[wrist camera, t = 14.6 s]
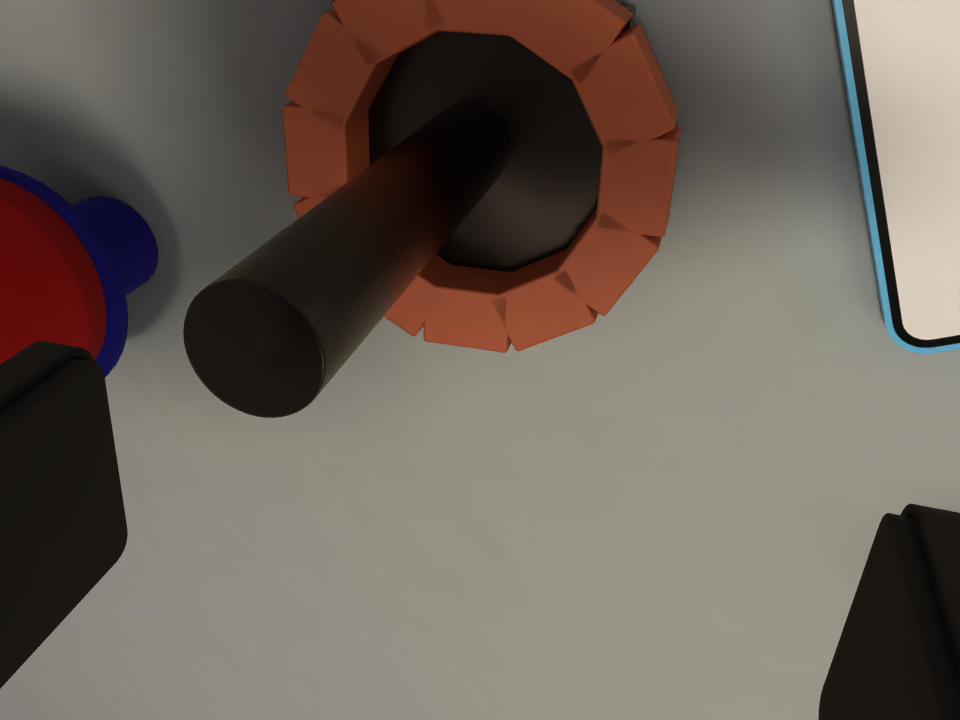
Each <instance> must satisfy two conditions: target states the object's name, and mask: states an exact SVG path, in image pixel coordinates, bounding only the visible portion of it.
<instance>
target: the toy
mask: <svg viewBox="0 0 960 720" xmlns="http://www.w3.org/2000/svg"><path fill="white" fill-rule="evenodd" d="M157 261H158V249H157V245H156V240H155V238H154V236H153V233H152V231H151V229H150V228H149V226H148V224H147V223H146V221H145V220H144V219H143V218H142V217H141V216H140V215H139V214H138V213H137V212H136V211H135V210H134V209H133V208H131V207H130V206H128V205H126V204H125V203H123V202H121V201H119V200H116V199H114V198H109V197H104V196H98V197H90V198H88V199H85V200H82V201H80V202H78V203H76V204H74V205H71V204H70V203H68V202H67V201H66V200H65V199H64V198H63V197H62V196H60V195H59V194H58V193H56V192H55V191H53V190H52V189H50V188H49V187H48V186H46V185H45V184H43V183H42V182H40V181H38V180H36V179H34V178H32V177H30V176H28V175H26V174H24V173H22V172H19V171H16V170H13V169H11V168H8V167H5V166H0V364H1V363H3V362H5V361H6V360H8V359H9V358H11V357H12V356H14V355H15V354H17V353H18V352H20V351H21V350H23V349H25V348H26V347H28V346H29V345H31V344H33V343H35V342H37V341H49V342H54V343H59V344H65V345H70V346H75V347H81V348H84V349H86V350H87V351H89V352H90V354H91V355H92V357H93V359H94V362H96V363H98V364H99V365H100V366H101V367H102V369H103V373H104V377H106V376H107V375H108V374H109V373H110V371H111V370H112V369H113V368H114V367H115V365H116V364H117V362H118V360H119V358H120V356H121V354H122V352H123V349H124V345H125V341H126V338H127V329H128V311H127V301H126V295H127V294H129V293H130V292H132V291H133V290H135V289H136V288H138V287H139V286H141V285H142V284H144V283H145V282H147V281H148V280H149V279H150V277H151V276H152V275H153V273H154V271H155V269H156V266H157Z"/></svg>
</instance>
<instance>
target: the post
mask: <svg viewBox="0 0 960 720" xmlns="http://www.w3.org/2000/svg"><path fill="white" fill-rule="evenodd" d="M334 1H335V0H333V2H334ZM621 5H622V6H623V7H625V8H626V9H628V10H629V11H630V12H632V17H631V18H630V20H629V21H628V23H627V24H626V26H625V27H624V29H623V30H622V32H623V31H625V30H627V29H629V28H631V27H633V23H634V16H635V9H636V8H635V6H634V5H626V4H621ZM333 9H334V7H333ZM368 120H369V157H370V166H368V167H367V168H366V169H364V170H363V171H362V172H360V173H359V174H358V175H356V176H355V177H354V178H352V179H351V180H350V181H348V182H347V183H345V184H344V185H343V186H341V187H340V188H339V189H337V190H336V191H335V192H333V193H332V194H331V195H329V196H328V197H327V198H325V199H324V200H323V201H321V202H320V203H319V204H317V205H316V206H315V207H313V208H312V209H311V210H309V211H308V212H307V213H305V214H304V215H302V216H301V217H300V218H298V219H297V220H296V221H294V222H293V223H292V224H290V225H289V226H288V227H286V228H285V229H284V230H282V231H281V232H280V233H278V234H277V235H276V236H274V237H273V238H272V239H270V240H269V241H268V242H266V243H265V244H264V245H262V246H261V247H259V248H258V249H257V250H255V251H254V252H253V253H251V254H250V255H249V256H247V257H246V258H245V259H243V260H242V261H241V262H239V263H238V264H237V265H235V266H234V267H233V268H231V269H230V270H229V271H227V272H226V273H225V274H223V275H222V276H221V277H219V278H218V279H216V280H215V281H214V282H212V283H211V284H210V285H208V286H207V287H206V288H204V289H203V290H202V291H201V292H199V294H198V295H197V296H196V297H195V298H194V299H193V301H192V302H191V304H190V306H189V308H188V311H187V313H186V317H185V321H184V329H183V333H184V344H185V349H186V352H187V356H188V358H189V361H190V363H191V365H192V367H193V369H194V371H195V372H196V374H197V375H198V377H199V378H200V380H201V381H202V382H203V384H204V385H205V386H206V387H207V388H208V389H209V390H210V391H211V392H212V393H213V394H214V395H215V396H216V397H218V398H219V399H220V400H222V401H223V402H224V403H226V404H228V405H229V406H231V407H233V408H235V409H237V410H239V411H241V412H244V413H247V414H250V415H254V416H258V417H267V418H275V417H283V416H287V415H291V414H294V413H296V412H298V411H300V410H302V409H304V408H305V407H307V406H308V405H309V404H310V403H311V402H312V401H313V400H314V399H315V398H316V396H317V395H318V394H319V393H320V392H321V390H322V389H323V388H324V387H325V386H326V384H327V383H328V382H329V381H330V380H331V378H332V377H333V376H334V375H335V374H336V372H337V371H338V370H339V369H340V368H341V366H342V365H343V364H344V363H345V362H346V360H347V359H348V358H349V357H350V356H351V354H352V353H353V352H354V351H355V350H356V348H357V347H358V346H359V345H360V344H361V342H362V341H363V340H364V339H365V338H366V337H367V335H368V334H369V333H370V332H371V331H372V329H373V328H374V327H375V326H376V325H377V323H378V322H379V321H380V320H381V319H382V317H383V316H384V315H385V314H386V313H387V311H388V310H389V309H390V308H391V307H392V305H393V304H394V303H395V302H396V301H397V299H398V298H399V297H400V296H401V295H402V293H403V292H404V291H405V290H406V289H407V287H408V286H409V285H410V284H411V283H412V281H413V280H414V279H415V278H416V277H417V275H418V274H419V273H420V272H421V271H422V269H423V268H424V267H425V266H426V265H427V264H428V262H429V261H430V260H431V259H432V258H433V256H434V255H435V254H437V255H438V256H440V257H441V258H443V259H444V260H445V261H447V262H448V263H450V264H451V265H458V266H466V267H474V268H482V269H490V270H498V271H507V272H513V271H515V270H517V269H520V268H522V267H525V266H527V265H530V264H532V263H534V262H537V261H539V260H542V259H544V258H546V257H549V256H551V255H554V254H556V253H559V252H561V251H563V250H566V249H567V248H568V247H569V245H570V244H571V243H572V241H573V240H574V239H575V237H576V236H577V235H578V233H579V232H580V231H581V229H582V228H583V226H584V225H585V224H586V222H587V221H588V220H589V218H590V217H591V216H592V214H593V213H594V212H595V210H596V209H597V200H598V190H599V179H600V168H601V158H602V145H601V143H600V141H599V138H598V136H597V134H596V132H595V130H594V128H593V125H592V123H591V121H590V119H589V117H588V114H587V112H586V110H585V108H584V106H583V104H582V101H581V99H580V97H579V95H578V93H577V91H576V88H575V86H574V84H573V82H572V80H571V79H570V78H568V77H567V76H566V75H564V74H563V73H561V72H560V71H558V70H557V69H556V68H554V67H553V66H551V65H550V64H549V63H547V62H546V61H544V60H543V59H542V58H540V57H539V56H537V55H536V54H535V53H533V52H532V51H530V50H529V49H528V48H526V47H525V46H523V45H522V44H521V43H519V42H518V41H516V40H515V39H513V38H512V37H511V36H508V35H493V34H479V33H464V32H450V31H439V32H437V33H435V34H433V35H432V36H430V37H428V38H426V39H424V40H423V41H421V42H419V43H417V44H416V45H414V46H412V47H410V48H408V49H407V50H405V51H403V52H401V53H400V54H398V56H397V58H396V60H395V62H394V64H393V65H392V67H391V69H390V71H389V73H388V75H387V77H386V78H385V80H384V82H383V84H382V86H381V88H380V90H379V92H378V93H377V95H376V97H375V99H374V101H373V103H372V105H371V106H370V108H369V110H368Z"/></svg>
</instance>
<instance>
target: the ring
mask: <svg viewBox="0 0 960 720" xmlns="http://www.w3.org/2000/svg"><path fill="white" fill-rule="evenodd" d="M332 5H333V7H334V9H333V10H329V11H326V12H324V13H323V14H322V16H321V18H320V20H319V22H318V25H317V27H316V29H315V31H314V33H313V35H312V37H311V39H310V41H309V43H308V46H307V48H306V50H305V52H304V54H303V56H302V58H301V60H300V62H299V64H298V67H297V69H296V71H295V73H294V75H293V77H292V79H291V81H290V83H289V85H288V88H287V90H286V92H285V96H286V97H288V98H289V99H291V100H292V102H290V103H288V104H286V105H284V106H283V120H284V135H285V149H286V163H287V177H288V192H289V195H291V196H299V197H303V198H302V199H300V200H299V201H297V202H296V203H295V204H294V205H293V208H294V210H295V211H296V213H297V215H298V216H299V218H300V217H301V216H302V215H304V214H305V213H307V212H308V211H309V210H311V209H312V208H313V207H315V206H316V205H317V204H319V203H320V202H321V201H323V200H324V199H325V198H327V197H328V196H329V195H331V194H332V193H333V192H335V191H336V190H337V189H339V188H340V187H341V186H343V185H344V184H345V183H347V182H348V181H350V180H351V179H352V178H354V177H355V176H356V175H358V174H359V173H360V172H362V171H363V170H364V169H366V168H367V167H368V166H370V157H369V120H368V110H369V108H370V106H371V105H372V103H373V101H374V99H375V97H376V95H377V93H378V92H379V90H380V88H381V86H382V84H383V82H384V80H385V78H386V77H387V75H388V73H389V71H390V69H391V67H392V65H393V64H394V62H395V60H396V58H397V56H398V54H400V53H401V52H403V51H405V50H407V49H408V48H410V47H412V46H414V45H416V44H417V43H419V42H421V41H423V40H424V39H426V38H428V37H430V36H432V35H433V34H435V33H437V32H439V31H450V32H464V33H479V34H493V35H508V36H511V37H512V38H513V39H515V40H516V41H518V42H519V43H521V44H522V45H523V46H525V47H526V48H528V49H529V50H530V51H532V52H533V53H535V54H536V55H537V56H539V57H540V58H542V59H543V60H544V61H546V62H547V63H549V64H550V65H551V66H553V67H554V68H556V69H557V70H558V71H560V72H561V73H563V74H564V75H566V76H567V77H568V78H570V79H571V80H572V82H573V84H574V86H575V88H576V91H577V93H578V95H579V97H580V99H581V101H582V104H583V106H584V108H585V110H586V112H587V114H588V117H589V119H590V121H591V123H592V125H593V128H594V130H595V132H596V134H597V136H598V138H599V141H600V143H601V145H602V158H601V168H600V179H599V190H598V200H597V209H596V210H595V212H594V213H593V214H592V216H591V217H590V218H589V220H588V221H587V222H586V224H585V225H584V226H583V228H582V229H581V231H580V232H579V233H578V235H577V236H576V237H575V239H574V240H573V241H572V243H571V244H570V245H569V247H568V248H567V249H566V250H563V251H561V252H559V253H556V254H554V255H551V256H549V257H546V258H544V259H542V260H539V261H537V262H534V263H532V264H530V265H527V266H525V267H522V268H520V269H517V270H515V271H513V272H507V271H498V270H490V269H482V268H474V267H466V266H458V265H451V264H450V263H448V262H447V261H445V260H444V259H443V258H441V257H440V256H438V255H437V254H435V255H434V256H433V258H432V259H431V260H430V261H429V262H428V264H427V265H426V266H425V267H424V268H423V269H422V271H421V272H420V273H419V274H418V275H417V277H416V278H415V279H414V280H413V281H412V283H411V284H410V285H409V286H408V287H407V289H406V290H405V291H404V292H403V293H402V295H401V296H400V297H399V298H398V299H397V301H396V302H395V303H394V304H393V305H392V307H391V308H390V309H389V310H388V311H387V313H386V314H385V315H384V317H385V318H387V319H388V320H390V321H391V322H393V323H394V324H396V325H397V326H399V327H400V328H401V329H403V330H404V331H406V332H407V333H409V334H410V335H412V336H416V335H417V334H418V332H419V331H420V330H421V328H422V327H423V326H424V341H427V342H434V343H441V344H448V345H455V346H462V347H469V348H476V349H483V350H490V351H497V352H504V353H505V352H507V350H508V348H509V346H510V344H511V342H512V344H513V346H514V348H515V350H516V351H520V350H523V349H526V348H528V347H531V346H534V345H537V344H539V343H542V342H545V341H547V340H550V339H553V338H555V337H558V336H561V335H563V334H566V333H569V332H572V331H574V330H577V329H580V328H582V327H585V326H588V325H590V324H593V323H594V322H595V321H596V318H597V315H598V313H599V314H601V315H603V316H604V315H606V314H607V313H608V311H609V310H610V309H611V308H612V306H613V305H614V304H615V303H616V302H617V300H618V299H619V298H620V297H621V295H622V294H623V293H624V292H625V290H626V289H627V288H628V287H629V285H630V284H631V283H632V282H633V280H634V279H635V278H636V277H637V275H638V274H639V273H640V272H641V271H642V269H643V268H644V267H645V266H646V264H647V263H648V262H649V261H650V259H651V258H652V257H653V256H654V254H655V253H656V252H657V251H658V249H659V246H660V241H661V237H663V236H664V235H665V232H666V227H667V223H668V218H669V212H670V205H671V197H672V190H673V182H674V175H675V167H676V160H677V152H678V145H679V137H680V130H681V128H680V126H679V125H675V124H676V121H677V117H678V110H677V107H676V105H675V103H674V100H673V98H672V96H671V93H670V91H669V89H668V86H667V84H666V82H665V79H664V77H663V75H662V72H661V70H660V67H659V65H658V63H657V60H656V58H655V56H654V53H653V51H652V49H651V46H650V44H649V42H648V39H647V37H646V35H645V32H644V30H643V28H642V26H641V25H640V24H637V25H635V26H633V27H631V28H629V29H627V30H625V31H623V32H622V30H623V29H624V27H625V26H626V24H627V23H628V21H629V20H630V18H631V17H632V12H630V11H629V10H628V9H626V8H625V7H623V6H622V5H621V4H619V3H618V2H616V1H615V0H335V1H334V2H333V3H332Z"/></svg>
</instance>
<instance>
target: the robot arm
mask: <svg viewBox="0 0 960 720" xmlns="http://www.w3.org/2000/svg"><path fill="white" fill-rule="evenodd" d="M126 542H127V524H126V517H125V511H124V504H123V497H122V491H121V484H120V477H119V471H118V464H117V457H116V451H115V444H114V437H113V431H112V424H111V417H110V411H109V404H108V397H107V391H106V384H105V377H104V373H103V369H102V367H101V366H100V365H99V364H98V363H96V362H94V359H93V357H92V355H91V354H90V352H89V351H87V350H86V349H84V348H81V347H75V346H70V345H65V344H59V343H54V342H49V341H37V342H35V343H33V344H31V345H29V346H28V347H26V348H25V349H23V350H21V351H20V352H18V353H17V354H15V355H14V356H12V357H11V358H9V359H8V360H6V361H5V362H3V363H1V364H0V688H1V687H2V686H3V685H4V684H5V683H6V682H7V681H8V680H9V679H10V677H11V676H12V675H13V674H14V673H15V672H16V671H17V670H18V669H19V668H20V667H21V665H22V664H23V663H24V662H25V661H26V660H27V659H28V658H29V657H30V656H31V655H32V653H33V652H34V651H35V650H36V649H37V648H38V647H39V646H40V645H41V644H42V643H43V641H44V640H45V639H46V638H47V637H48V636H49V635H50V634H51V633H52V632H53V631H54V629H55V628H56V627H57V626H58V625H59V624H60V623H61V622H62V621H63V620H64V619H65V617H66V616H67V615H68V614H69V613H70V612H71V611H72V610H73V609H74V608H75V607H76V605H77V604H78V603H79V602H80V601H81V600H82V599H83V598H84V597H85V596H86V594H87V593H88V592H89V591H90V590H91V589H92V588H93V587H94V586H95V585H96V584H97V582H98V581H99V580H100V579H101V578H102V577H103V576H104V575H105V574H106V573H107V572H108V570H109V569H110V568H111V567H112V566H113V565H114V564H115V563H116V562H117V560H118V559H119V558H120V556H121V555H122V553H123V551H124V548H125V545H126ZM819 720H960V513H958V512H952V511H947V510H942V509H936V508H931V507H926V506H920V505H915V504H909V505H907V506H906V507H905V508H904V510H903V511H902V513H901V515H895V514H890V513H887V514H885V515H884V516H883V518H882V520H881V522H880V524H879V527H878V530H877V533H876V536H875V539H874V542H873V545H872V548H871V550H870V553H869V556H868V559H867V562H866V565H865V568H864V571H863V574H862V576H861V579H860V582H859V585H858V588H857V591H856V594H855V597H854V600H853V602H852V605H851V608H850V611H849V614H848V617H847V620H846V623H845V626H844V628H843V631H842V634H841V637H840V640H839V643H838V646H837V649H836V652H835V654H834V657H833V660H832V663H831V666H830V669H829V672H828V675H827V678H826V680H825V683H824V686H823V690H822V693H821V698H820V705H819Z"/></svg>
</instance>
